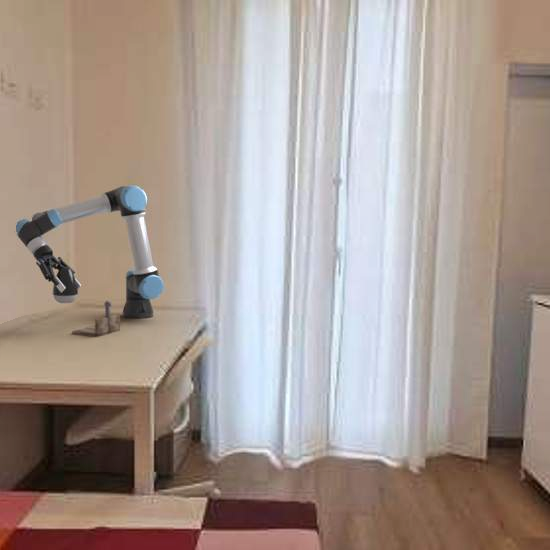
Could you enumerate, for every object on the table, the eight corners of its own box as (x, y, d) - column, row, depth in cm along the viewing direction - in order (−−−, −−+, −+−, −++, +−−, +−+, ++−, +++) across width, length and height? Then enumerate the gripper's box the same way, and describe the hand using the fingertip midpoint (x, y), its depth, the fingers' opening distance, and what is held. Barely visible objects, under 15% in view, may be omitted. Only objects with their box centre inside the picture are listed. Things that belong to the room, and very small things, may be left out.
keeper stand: (94, 328, 287) (94, 297, 286) (121, 330, 283) (121, 299, 281) (72, 334, 272) (71, 301, 271) (99, 336, 268) (99, 303, 266)
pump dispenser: (82, 301, 280) (81, 266, 279) (72, 304, 270) (71, 268, 268) (59, 300, 281) (58, 265, 280) (48, 303, 271) (48, 267, 269)
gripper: (52, 254, 289) (82, 291, 285) (17, 257, 269) (48, 297, 265) (62, 243, 287) (92, 280, 283) (27, 245, 266) (59, 285, 262)
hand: (71, 288), depth 274 cm, fingers closed on pump dispenser, 10 cm apart
